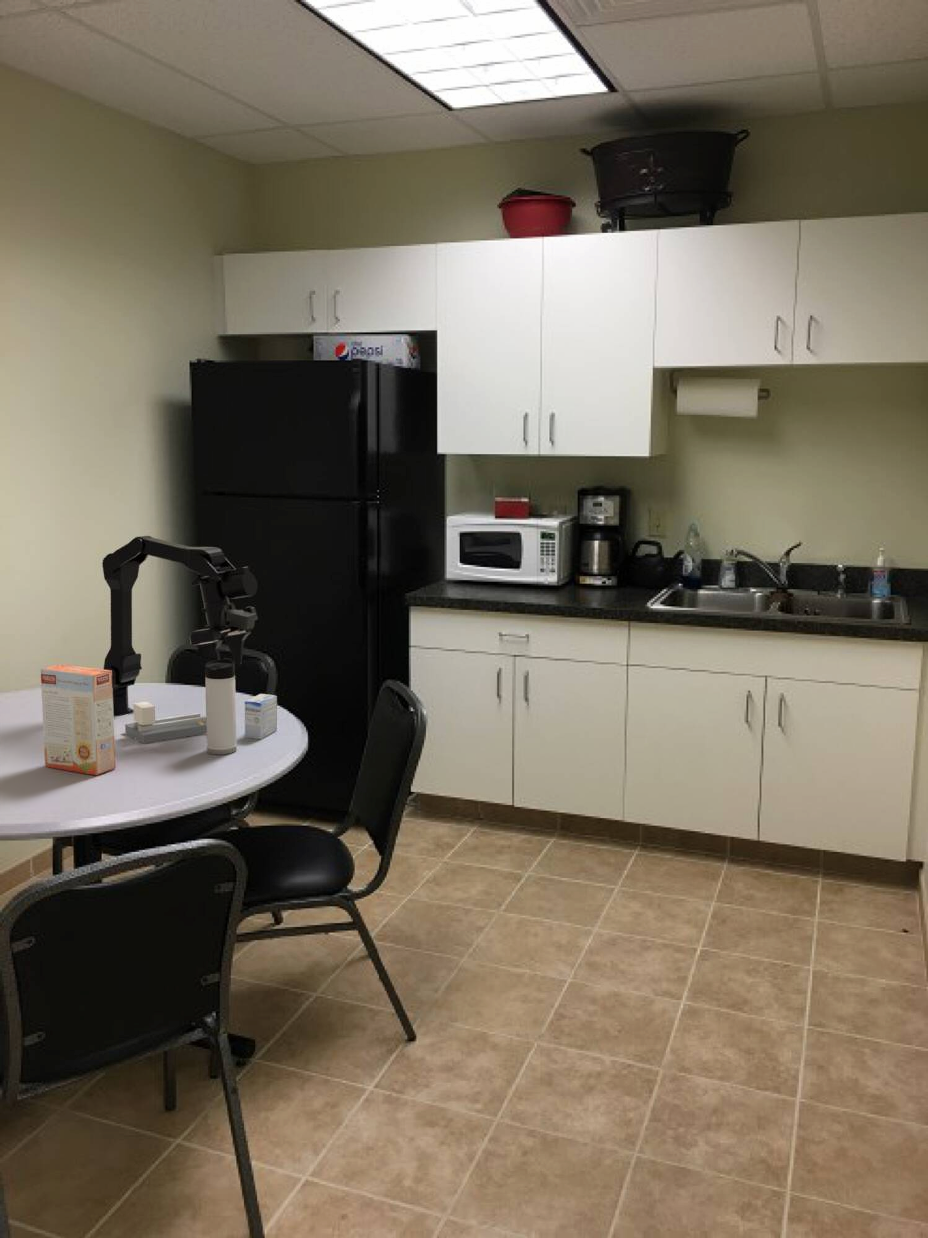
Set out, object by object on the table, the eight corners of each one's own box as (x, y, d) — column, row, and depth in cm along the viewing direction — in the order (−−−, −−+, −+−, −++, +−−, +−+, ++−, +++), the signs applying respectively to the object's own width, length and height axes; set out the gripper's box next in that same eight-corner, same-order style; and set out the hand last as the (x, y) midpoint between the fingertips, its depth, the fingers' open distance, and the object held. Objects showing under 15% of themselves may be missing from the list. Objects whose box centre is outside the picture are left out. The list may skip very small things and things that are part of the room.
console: (125, 732, 246) (125, 720, 246) (195, 721, 257) (194, 709, 256) (143, 744, 238) (143, 730, 237) (215, 732, 248) (214, 719, 247)
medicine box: (260, 729, 251) (259, 693, 250) (277, 731, 250) (277, 694, 249) (244, 738, 244) (243, 701, 242) (262, 740, 243) (261, 702, 241)
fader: (134, 726, 244) (133, 703, 243) (147, 724, 246) (146, 701, 245) (142, 731, 240) (141, 708, 239) (155, 729, 242) (154, 706, 241)
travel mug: (242, 748, 236) (241, 659, 232) (226, 756, 230) (224, 665, 226) (217, 745, 238) (215, 656, 234) (201, 753, 232) (199, 662, 228)
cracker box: (117, 769, 220) (113, 669, 216) (96, 777, 214) (91, 675, 211) (66, 759, 226) (61, 662, 222) (43, 767, 220) (38, 667, 217)
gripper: (224, 601, 237) (238, 670, 238) (266, 592, 254) (278, 656, 256) (182, 608, 241) (195, 676, 242) (225, 598, 258) (238, 662, 259)
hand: (229, 667), depth 250 cm, fingers open, 9 cm apart
